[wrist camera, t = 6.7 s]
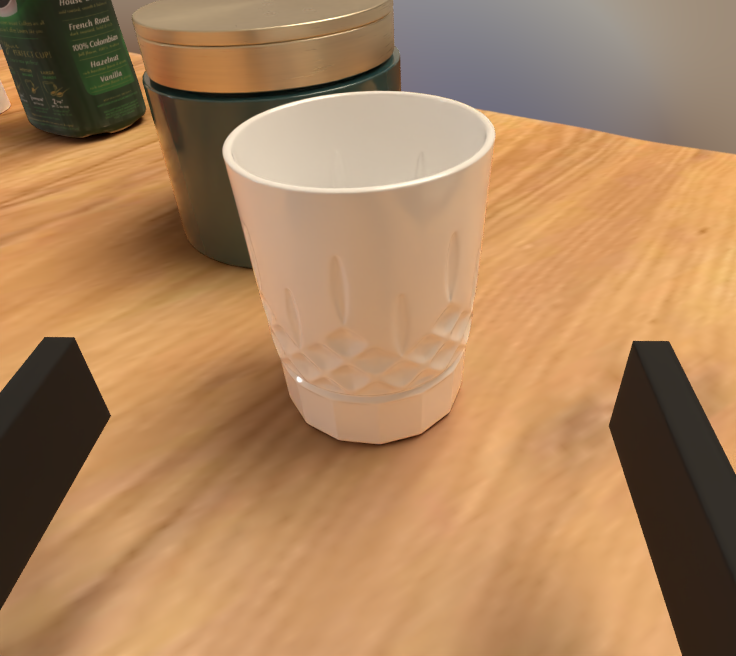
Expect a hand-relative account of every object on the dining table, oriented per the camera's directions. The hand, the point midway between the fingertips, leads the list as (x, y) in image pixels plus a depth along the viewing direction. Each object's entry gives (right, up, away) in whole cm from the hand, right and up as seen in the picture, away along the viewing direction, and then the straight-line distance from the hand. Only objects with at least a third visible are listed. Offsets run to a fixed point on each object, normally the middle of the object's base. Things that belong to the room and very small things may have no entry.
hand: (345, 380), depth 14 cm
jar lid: (-4, +17, +15) cm, 23 cm away
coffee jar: (-23, +19, +36) cm, 47 cm away
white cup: (+1, -1, +9) cm, 9 cm away
